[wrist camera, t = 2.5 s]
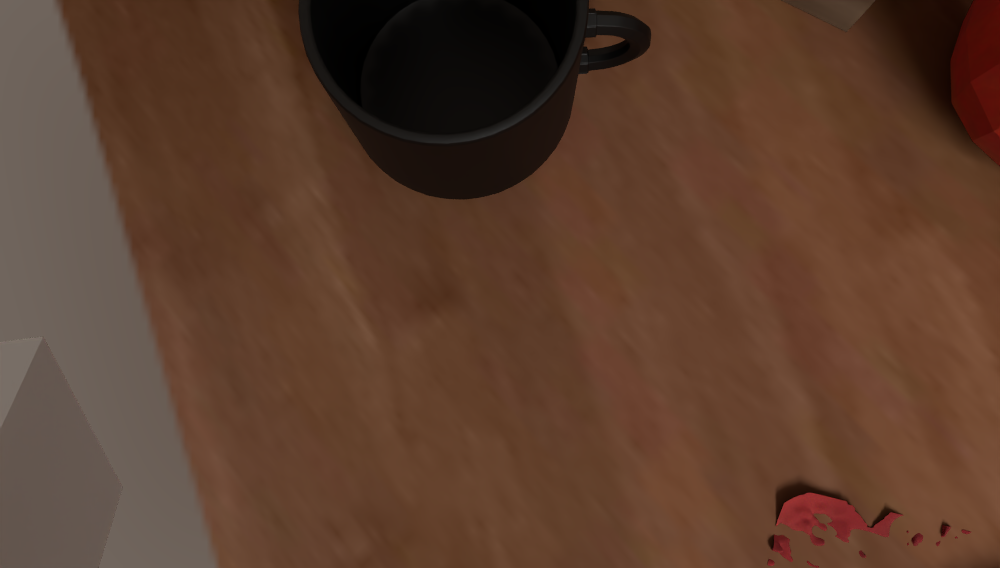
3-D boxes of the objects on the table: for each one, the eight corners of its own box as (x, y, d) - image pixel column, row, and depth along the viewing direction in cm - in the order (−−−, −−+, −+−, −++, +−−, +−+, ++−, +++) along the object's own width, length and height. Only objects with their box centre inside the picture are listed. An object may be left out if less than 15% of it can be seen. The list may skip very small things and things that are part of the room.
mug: (641, 193, 38) (679, 134, 29) (351, 206, 38) (299, 151, 29) (628, -26, 39) (660, -149, 30) (345, -12, 40) (294, -130, 31)
